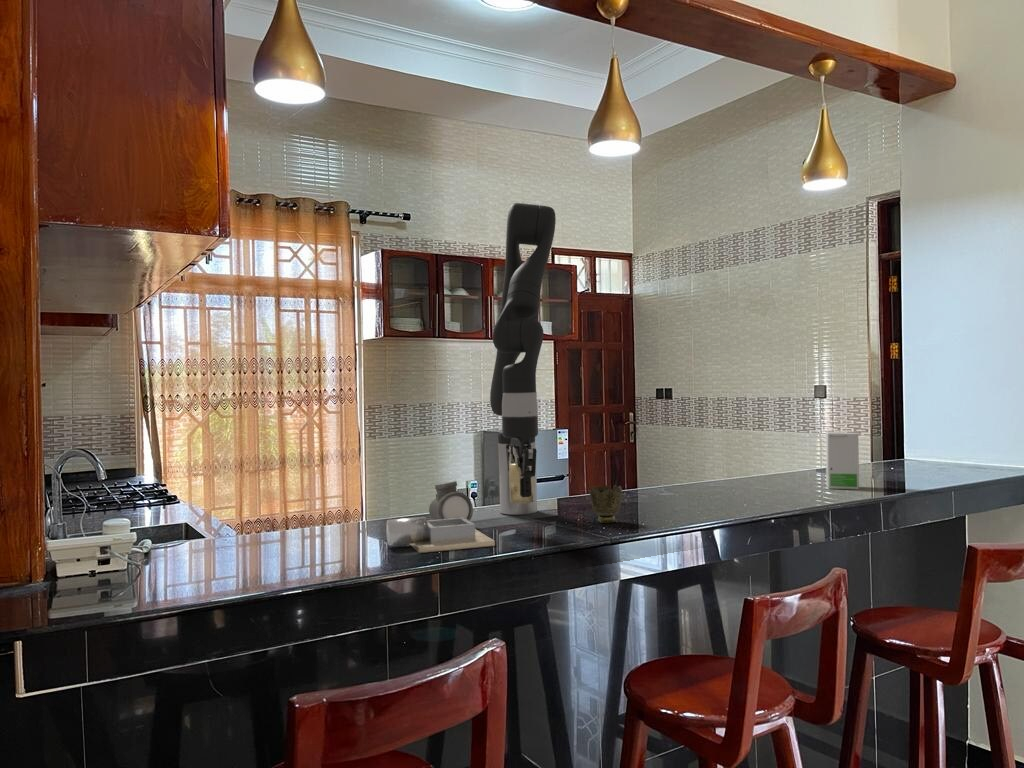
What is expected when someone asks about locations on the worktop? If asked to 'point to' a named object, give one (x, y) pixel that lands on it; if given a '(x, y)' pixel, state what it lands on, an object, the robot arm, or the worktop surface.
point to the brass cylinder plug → (518, 486)
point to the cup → (606, 502)
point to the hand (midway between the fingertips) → (521, 494)
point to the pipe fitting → (450, 503)
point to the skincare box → (842, 460)
